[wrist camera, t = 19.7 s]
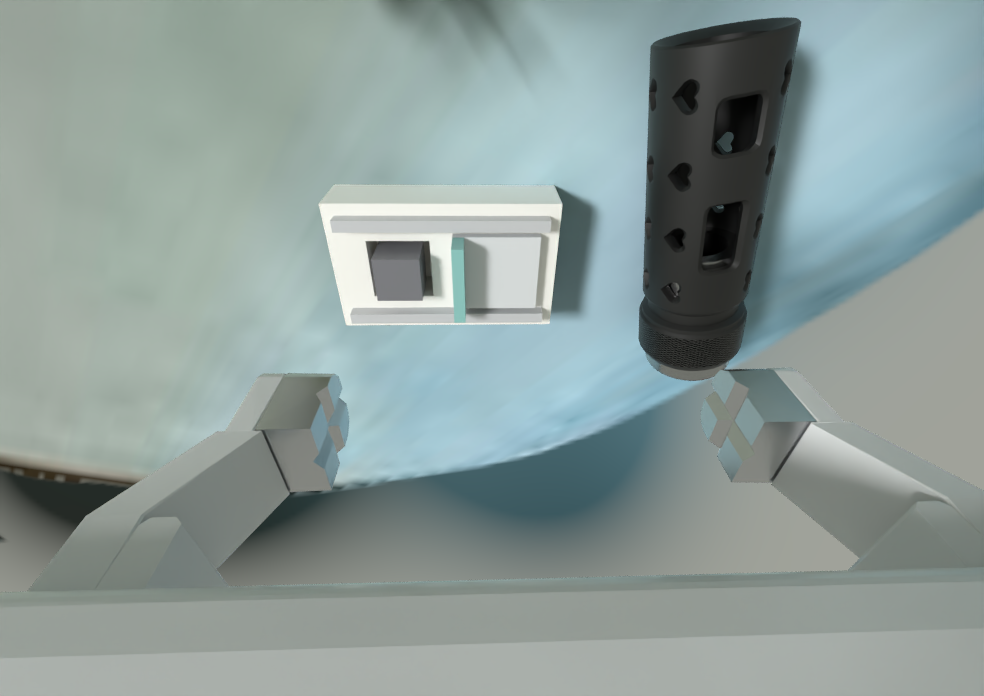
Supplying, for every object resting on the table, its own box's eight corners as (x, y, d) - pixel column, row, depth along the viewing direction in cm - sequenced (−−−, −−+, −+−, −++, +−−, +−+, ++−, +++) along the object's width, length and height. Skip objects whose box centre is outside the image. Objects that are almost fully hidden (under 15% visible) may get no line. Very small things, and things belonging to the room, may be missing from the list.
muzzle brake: (753, 15, 34) (843, 16, 25) (710, 317, 50) (755, 377, 42) (626, 42, 34) (674, 52, 26) (625, 331, 51) (654, 392, 43)
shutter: (452, 233, 38) (450, 249, 35) (540, 233, 38) (544, 249, 35) (455, 303, 42) (454, 322, 39) (534, 303, 42) (538, 322, 40)
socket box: (334, 184, 40) (314, 208, 35) (554, 185, 41) (565, 209, 36) (357, 298, 47) (343, 332, 42) (543, 298, 48) (551, 330, 43)
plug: (382, 231, 42) (370, 259, 37) (425, 231, 42) (418, 259, 37) (388, 269, 44) (377, 300, 39) (428, 269, 44) (422, 300, 40)
